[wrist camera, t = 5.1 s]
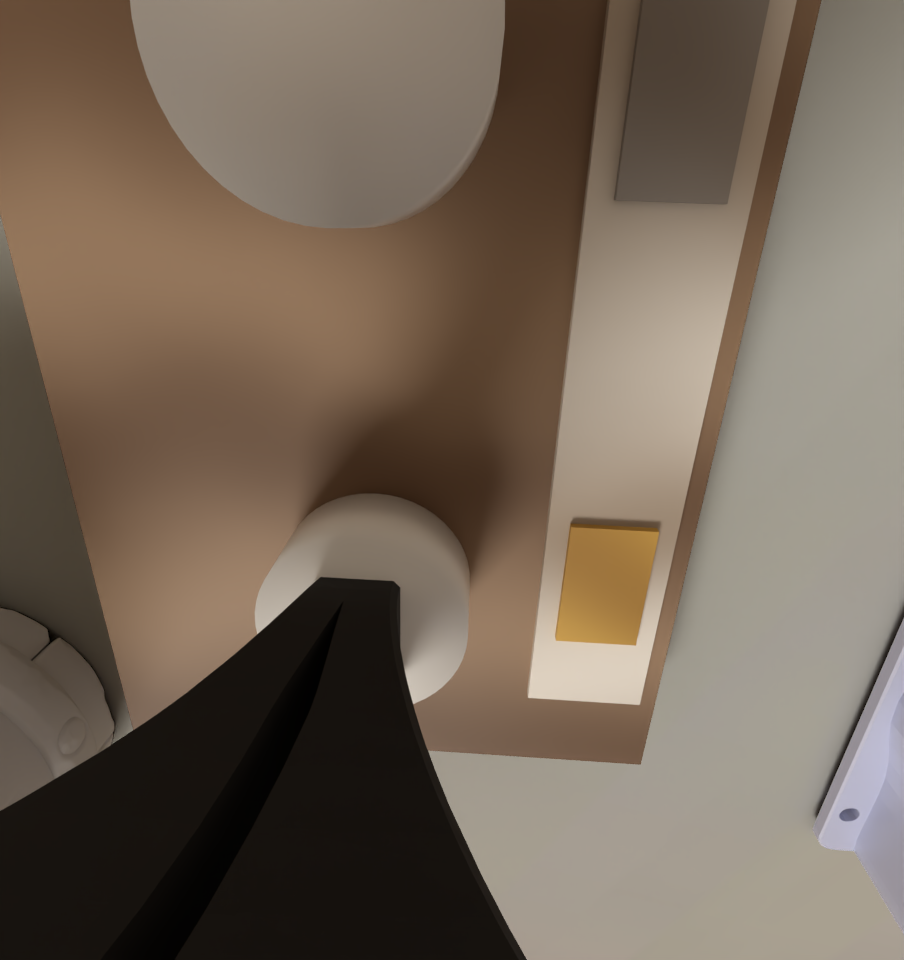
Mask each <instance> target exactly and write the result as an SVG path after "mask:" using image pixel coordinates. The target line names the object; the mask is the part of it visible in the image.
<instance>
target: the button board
mask: <svg viewBox="0 0 904 960" xmlns="http://www.w3.org/2000/svg"><path fill="white" fill-rule="evenodd" d="M820 4H821V0H505V31H504V40H503V49H502V58H501V67H500V76H499V84H498V93H497V98H496V102H495V107H494V111H493V116H492V118H491V121H490V124H489V127H488V130H487V133H486V136H485V138H484V140H483V142H482V144H481V146H480V148H479V150H478V152H477V154H476V156H475V158H474V159H473V161H472V162H471V164H470V166H469V167H468V169H467V170H466V172H465V173H464V174H463V175H462V177H461V178H460V179H459V180H458V181H457V183H456V184H455V185H454V186H453V187H452V188H451V189H450V190H449V191H448V192H447V193H446V194H445V195H444V196H443V197H442V198H440V199H439V200H438V201H437V202H435V203H434V204H432V205H431V206H430V207H428V208H427V209H425V210H424V211H422V212H420V213H418V214H416V215H414V216H412V217H410V218H408V219H405V220H402V221H399V222H396V223H393V224H390V225H385V226H379V227H373V228H320V227H311V226H304V225H300V224H296V223H292V222H288V221H284V220H281V219H279V218H276V217H274V216H272V215H269V214H267V213H264V212H262V211H260V210H258V209H256V208H255V207H253V206H251V205H249V204H248V203H246V202H244V201H242V200H241V199H239V198H238V197H237V196H235V195H234V194H233V193H231V192H230V191H229V190H227V189H226V188H224V187H223V186H222V185H221V184H220V183H219V182H218V181H216V180H215V179H214V178H213V177H212V176H211V175H210V174H209V173H208V172H207V171H206V170H205V169H204V168H203V167H202V166H201V165H200V164H199V163H198V161H197V160H196V159H195V158H194V157H193V156H192V154H191V153H190V152H189V151H188V150H187V149H186V147H185V146H184V144H183V143H182V141H181V140H180V138H179V137H178V135H177V134H176V133H175V131H174V130H173V128H172V127H171V125H170V123H169V121H168V120H167V118H166V116H165V114H164V112H163V110H162V109H161V107H160V105H159V103H158V101H157V99H156V96H155V94H154V92H153V89H152V87H151V85H150V82H149V80H148V78H147V75H146V72H145V69H144V65H143V62H142V59H141V56H140V53H139V49H138V46H137V41H136V36H135V31H134V26H133V21H132V16H131V6H130V0H0V215H1V219H2V223H3V226H4V230H5V234H6V238H7V242H8V246H9V250H10V254H11V257H12V261H13V265H14V269H15V273H16V277H17V281H18V285H19V288H20V292H21V296H22V300H23V304H24V308H25V312H26V316H27V319H28V323H29V327H30V331H31V335H32V339H33V343H34V347H35V351H36V354H37V358H38V362H39V366H40V370H41V374H42V378H43V382H44V385H45V389H46V393H47V397H48V401H49V405H50V409H51V413H52V416H53V420H54V424H55V428H56V432H57V436H58V440H59V444H60V448H61V451H62V455H63V459H64V463H65V467H66V471H67V475H68V479H69V482H70V486H71V490H72V494H73V498H74V502H75V506H76V510H77V513H78V517H79V521H80V525H81V529H82V533H83V537H84V541H85V544H86V548H87V552H88V556H89V560H90V564H91V568H92V572H93V576H94V579H95V583H96V587H97V591H98V595H99V599H100V603H101V607H102V610H103V614H104V618H105V622H106V626H107V630H108V634H109V638H110V641H111V645H112V649H113V653H114V657H115V661H116V665H117V669H118V672H119V676H120V680H121V684H122V688H123V692H124V696H125V700H126V704H127V707H128V711H129V715H130V719H131V723H132V727H133V730H134V729H136V728H137V727H139V726H140V725H142V724H143V723H145V722H146V721H148V720H149V719H151V718H152V717H154V716H155V715H157V714H158V713H159V712H161V711H162V710H164V709H165V708H166V707H168V706H169V705H171V704H172V703H173V702H175V701H176V700H177V699H179V698H180V697H181V696H183V695H184V694H186V693H187V692H188V691H189V690H191V689H192V688H193V687H194V686H196V685H197V684H198V683H199V682H201V681H202V680H203V679H204V678H206V677H207V676H208V675H209V674H211V673H212V672H213V671H214V670H216V669H217V668H218V667H219V666H221V665H222V664H223V663H224V662H226V661H227V660H228V659H229V658H230V657H232V656H233V655H234V654H235V653H236V652H238V651H239V650H240V649H241V648H242V647H243V646H244V645H246V644H247V643H248V642H249V641H250V640H251V639H252V638H254V637H255V636H256V635H257V630H256V625H255V606H256V600H257V596H258V593H259V590H260V588H261V586H262V584H263V582H264V580H265V578H266V576H267V575H268V573H269V572H270V570H271V568H272V567H273V565H274V563H275V562H276V560H277V559H278V557H279V555H280V554H281V552H282V551H283V549H284V547H285V546H286V544H287V542H288V541H289V539H290V538H291V536H292V534H293V533H294V531H295V530H296V528H297V527H298V526H299V524H300V523H301V522H302V521H303V520H304V519H305V518H306V517H307V516H308V515H309V514H310V513H311V512H313V511H314V510H315V509H317V508H318V507H320V506H322V505H324V504H325V503H327V502H330V501H332V500H335V499H337V498H341V497H345V496H348V495H355V494H364V493H376V494H385V495H391V496H395V497H399V498H403V499H405V500H408V501H411V502H414V503H416V504H418V505H420V506H422V507H424V508H425V509H427V510H428V511H430V512H431V513H433V514H434V515H436V516H437V517H438V518H439V519H440V520H442V521H443V522H444V523H445V524H446V525H447V526H448V527H449V528H450V530H451V531H452V532H453V533H454V535H455V536H456V538H457V539H458V540H459V542H460V544H461V546H462V548H463V550H464V552H465V555H466V558H467V561H468V566H469V572H470V592H469V620H468V640H467V647H466V651H465V654H464V657H463V660H462V662H461V664H460V666H459V668H458V669H457V671H456V672H455V674H454V675H453V677H452V678H451V679H450V680H449V681H448V682H447V683H446V684H445V685H444V686H443V687H442V688H441V689H439V690H438V691H437V692H435V693H434V694H432V695H431V696H429V697H427V698H426V699H424V700H421V701H419V702H417V703H415V704H413V705H414V709H415V713H416V716H417V719H418V723H419V726H420V729H421V732H422V735H423V738H424V741H425V744H426V747H427V750H430V751H445V752H461V753H476V754H491V755H506V756H521V757H536V758H551V759H566V760H581V761H596V762H611V763H626V764H641V760H642V756H643V752H644V748H645V743H646V739H647V735H648V731H649V726H650V722H651V718H652V714H653V710H654V705H655V701H656V697H657V693H658V688H659V684H660V680H661V676H662V672H663V667H664V663H665V659H666V655H667V650H668V646H669V642H670V638H671V633H672V629H673V625H674V621H675V617H676V612H677V608H678V604H679V600H680V595H681V591H682V587H683V583H684V579H685V574H686V570H687V566H688V562H689V557H690V553H691V549H692V545H693V541H694V536H695V532H696V528H697V524H698V519H699V515H700V511H701V507H702V503H703V498H704V494H705V490H706V486H707V481H708V477H709V473H710V469H711V465H712V460H713V456H714V452H715V448H716V443H717V439H718V435H719V431H720V427H721V422H722V418H723V414H724V410H725V405H726V401H727V397H728V393H729V389H730V384H731V380H732V376H733V372H734V367H735V363H736V359H737V355H738V351H739V346H740V342H741V338H742V334H743V329H744V325H745V321H746V317H747V313H748V308H749V304H750V300H751V296H752V291H753V287H754V283H755V279H756V275H757V270H758V266H759V262H760V258H761V253H762V249H763V245H764V241H765V237H766V232H767V228H768V224H769V220H770V215H771V211H772V207H773V203H774V199H775V194H776V190H777V186H778V182H779V177H780V173H781V169H782V165H783V160H784V156H785V152H786V148H787V144H788V139H789V135H790V131H791V127H792V122H793V118H794V114H795V110H796V106H797V101H798V97H799V93H800V89H801V84H802V80H803V76H804V72H805V68H806V63H807V59H808V55H809V51H810V46H811V42H812V38H813V34H814V30H815V25H816V21H817V17H818V13H819V8H820Z"/></svg>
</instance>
